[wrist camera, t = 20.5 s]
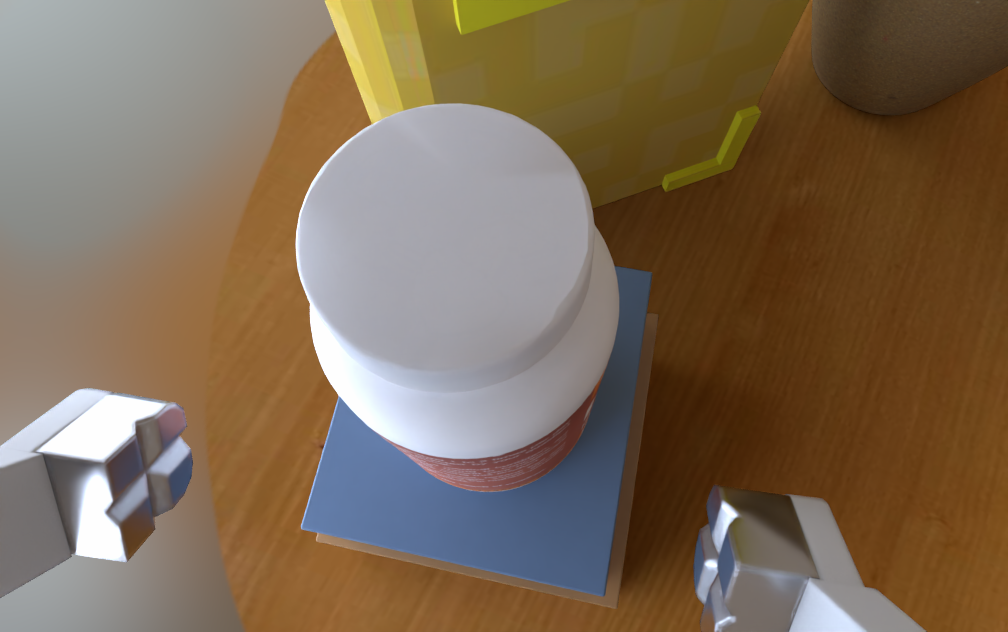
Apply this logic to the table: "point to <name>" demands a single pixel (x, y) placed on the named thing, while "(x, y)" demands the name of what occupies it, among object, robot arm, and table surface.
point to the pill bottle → (460, 291)
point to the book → (583, 74)
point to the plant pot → (906, 49)
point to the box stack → (504, 514)
